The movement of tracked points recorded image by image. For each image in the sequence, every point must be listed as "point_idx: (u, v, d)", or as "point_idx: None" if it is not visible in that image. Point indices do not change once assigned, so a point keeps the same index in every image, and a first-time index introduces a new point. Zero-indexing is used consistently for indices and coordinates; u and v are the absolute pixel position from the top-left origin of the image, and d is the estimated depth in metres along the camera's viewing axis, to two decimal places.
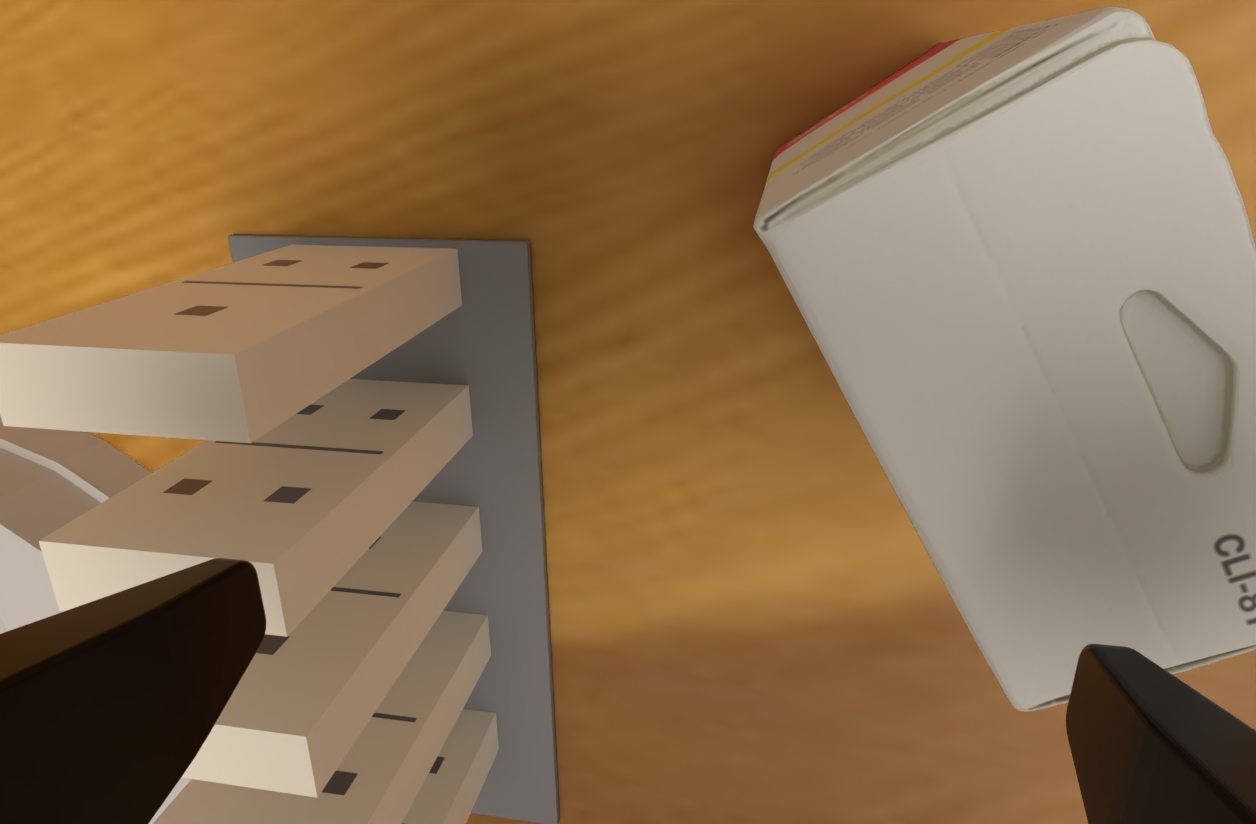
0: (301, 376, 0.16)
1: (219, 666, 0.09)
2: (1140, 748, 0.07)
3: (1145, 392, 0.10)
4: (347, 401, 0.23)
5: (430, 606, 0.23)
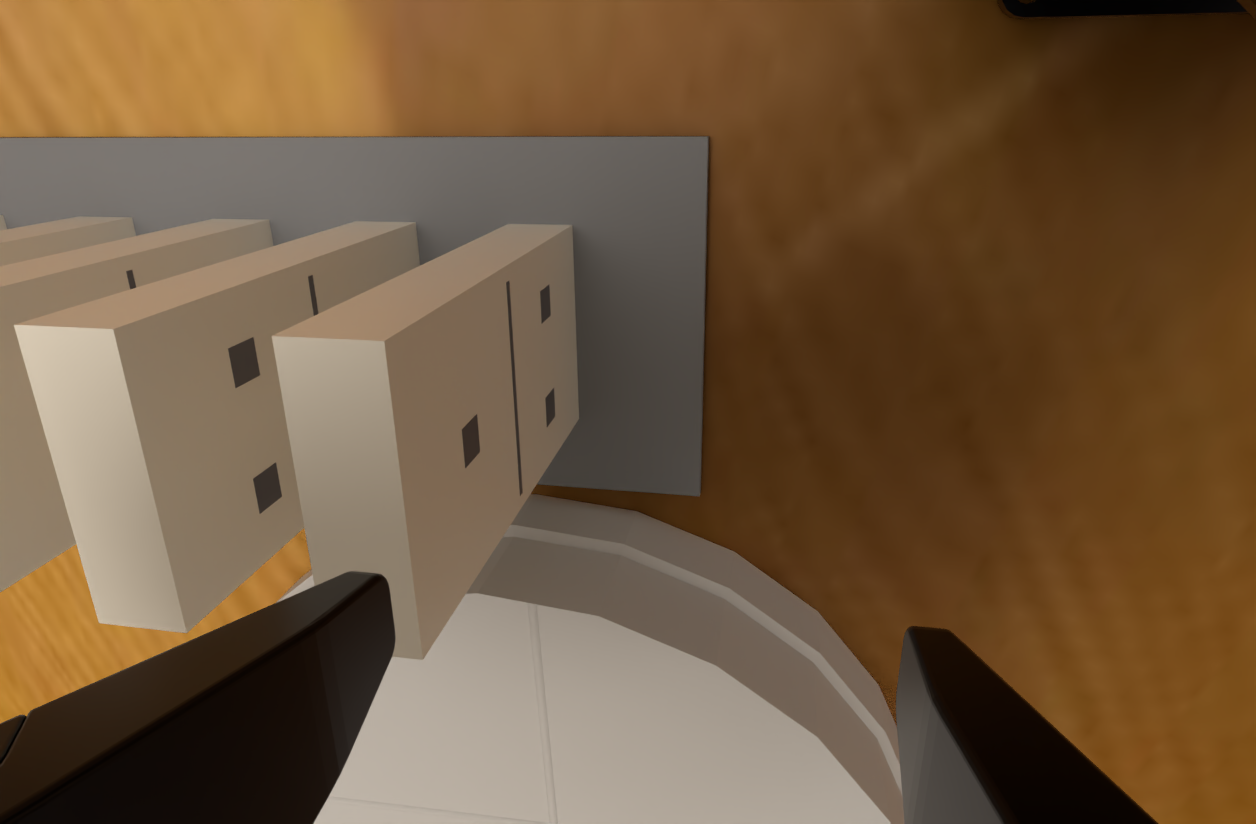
0: None
1: (359, 683, 0.09)
2: (927, 723, 0.07)
3: None
4: None
5: (134, 246, 0.18)
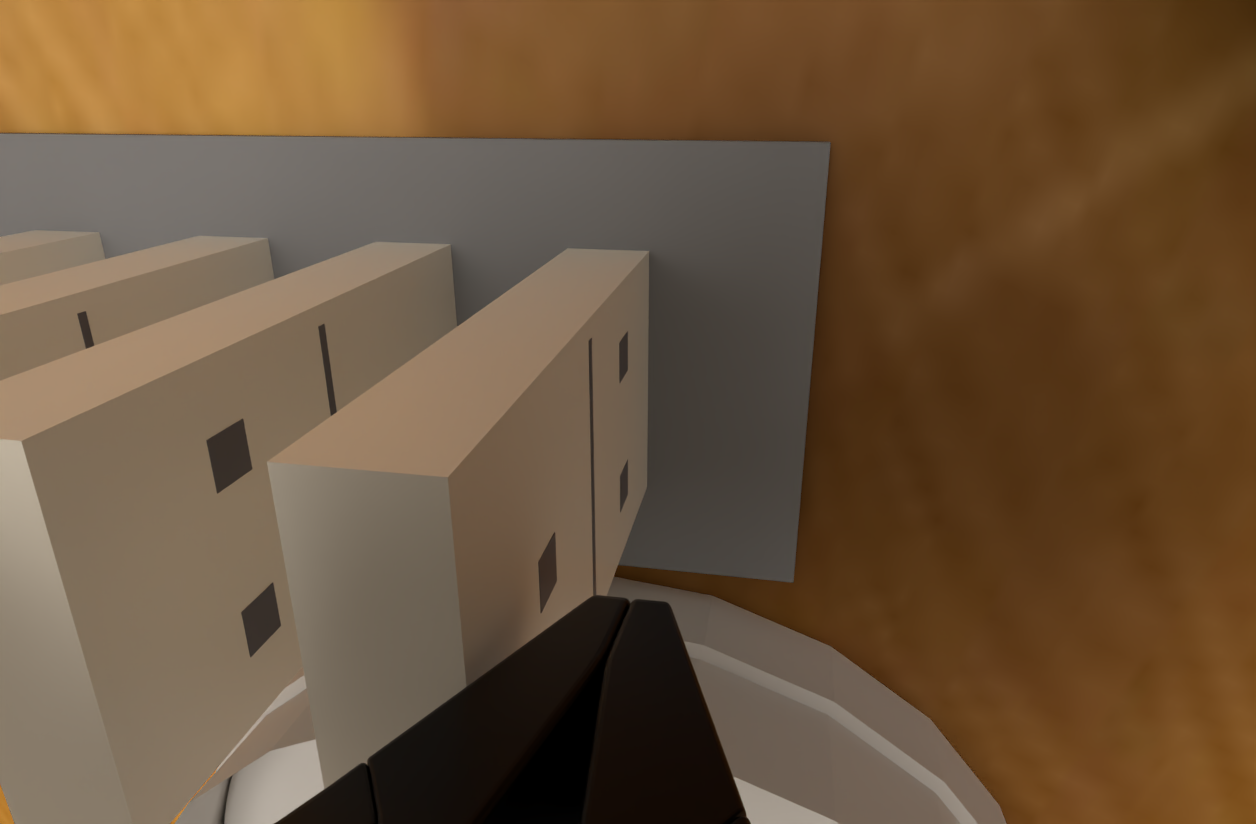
0: None
1: None
2: None
3: None
4: None
5: (92, 277, 0.14)
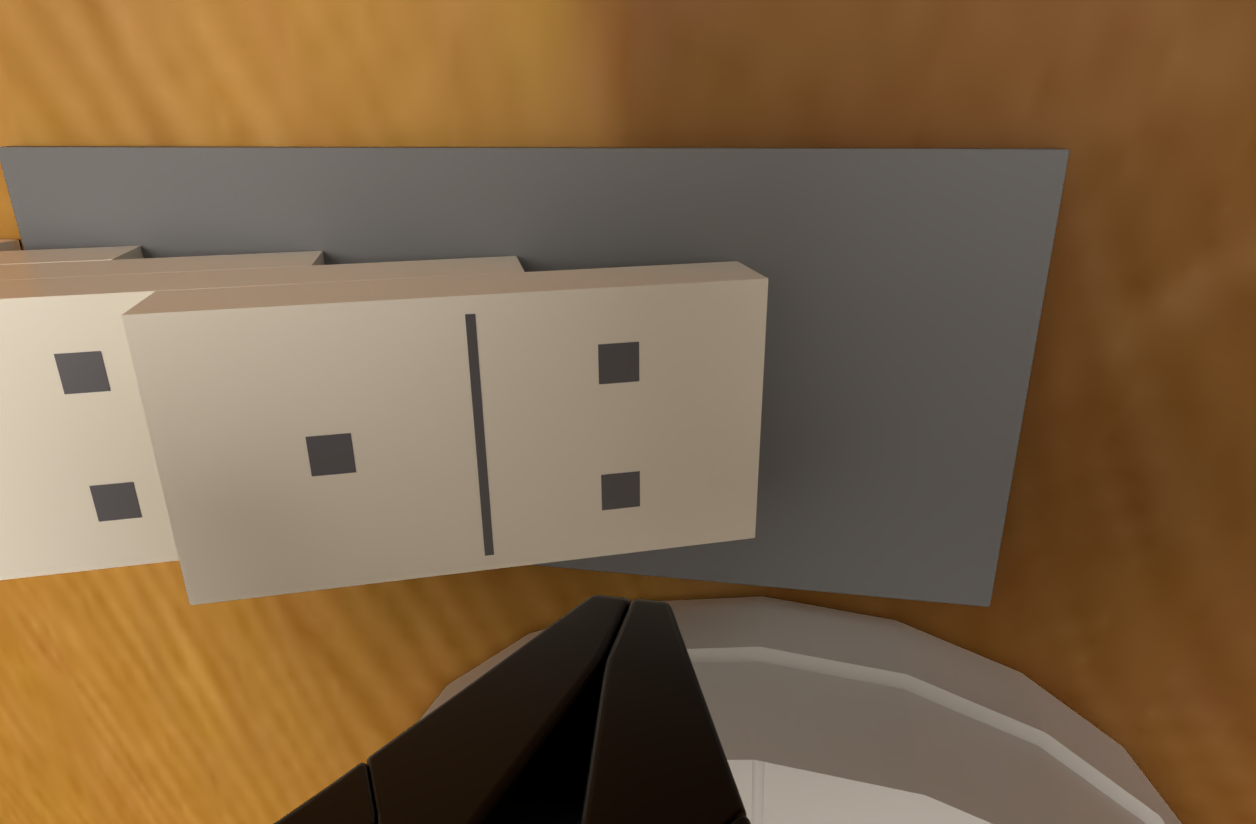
0: None
1: None
2: None
3: None
4: None
5: (89, 269, 0.15)
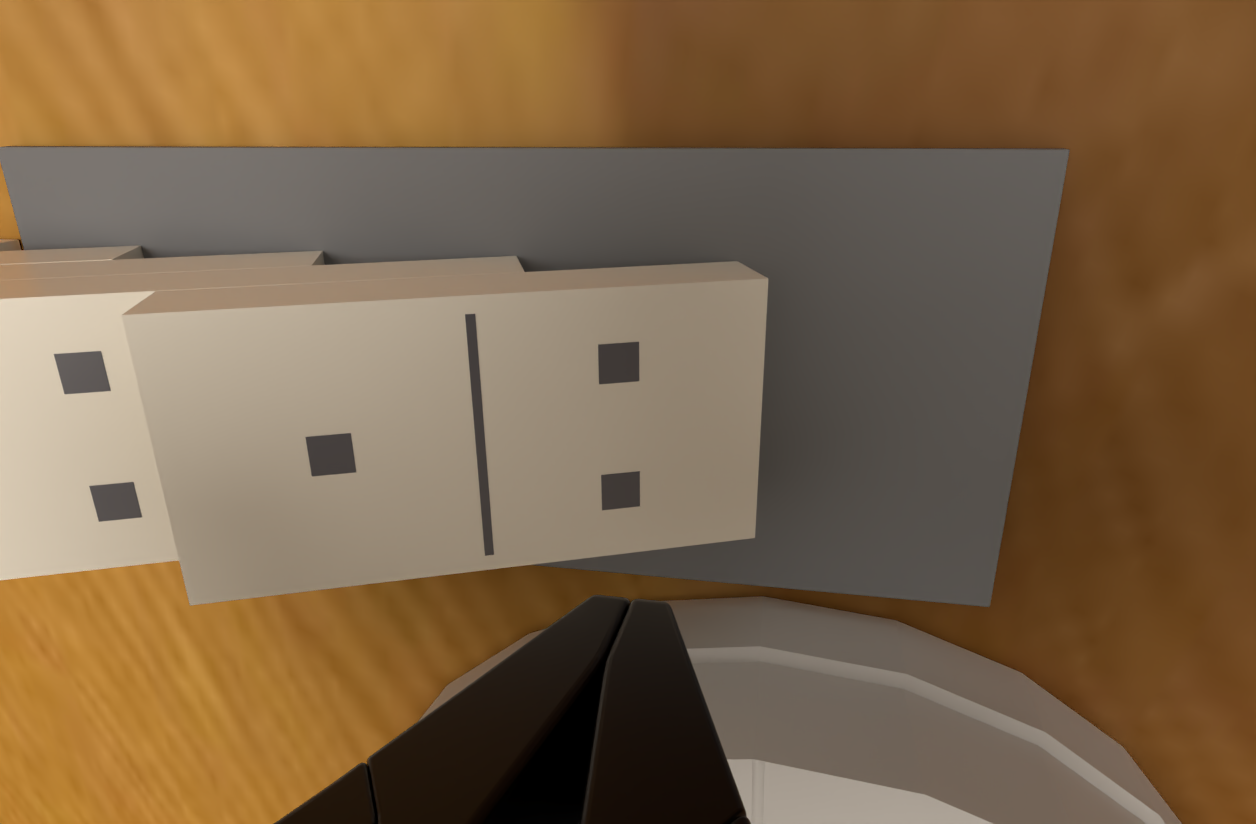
0: None
1: None
2: None
3: None
4: None
5: (89, 269, 0.15)
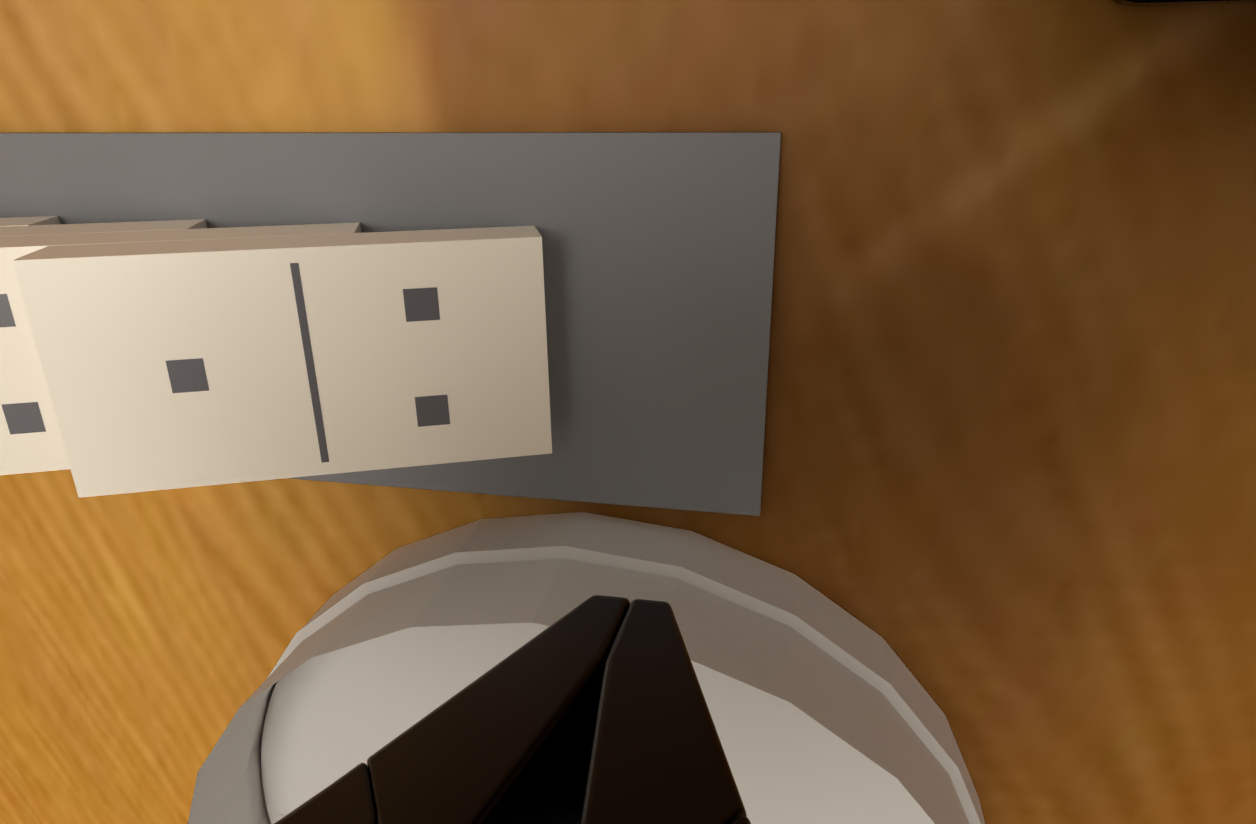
0: None
1: None
2: None
3: None
4: None
5: (5, 232, 0.19)
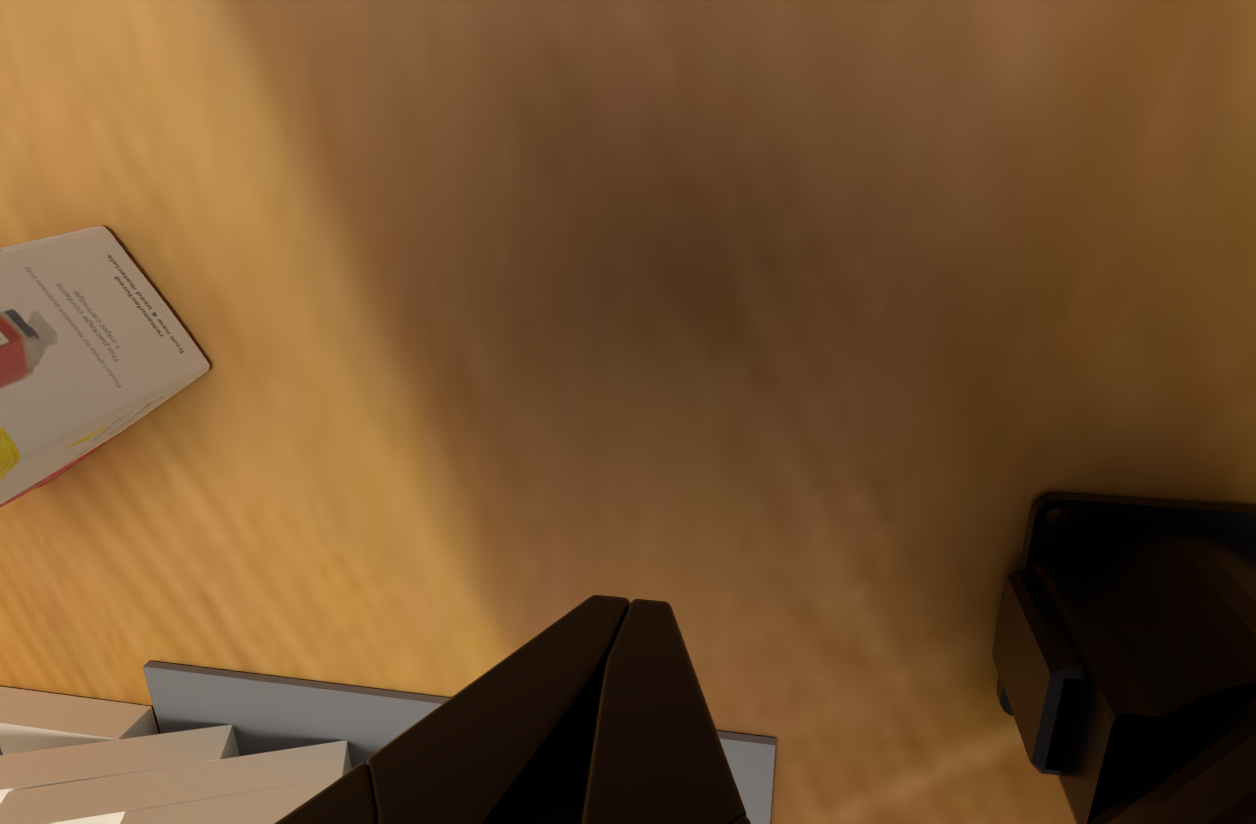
0: None
1: None
2: None
3: None
4: None
5: (210, 782, 0.26)
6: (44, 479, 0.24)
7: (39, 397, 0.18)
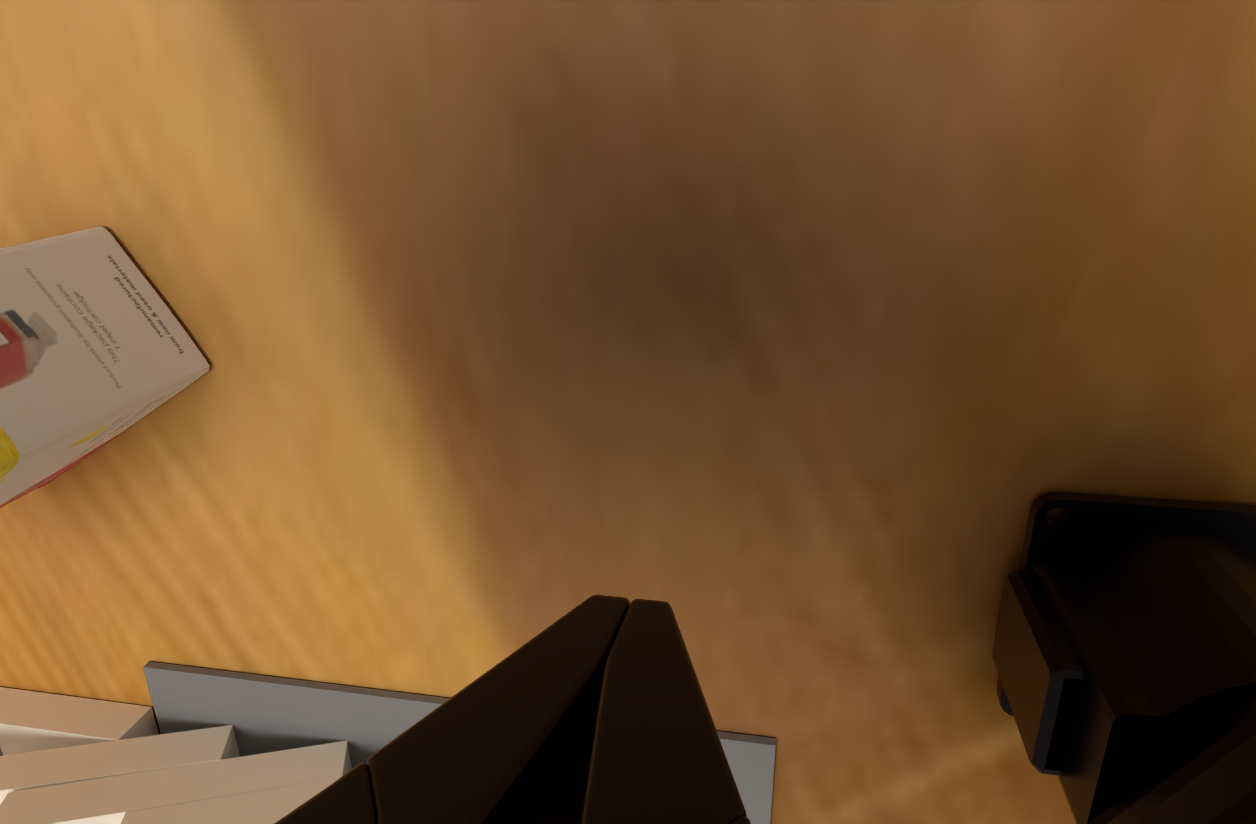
0: None
1: None
2: None
3: None
4: None
5: (210, 783, 0.26)
6: (44, 480, 0.24)
7: (38, 398, 0.18)
